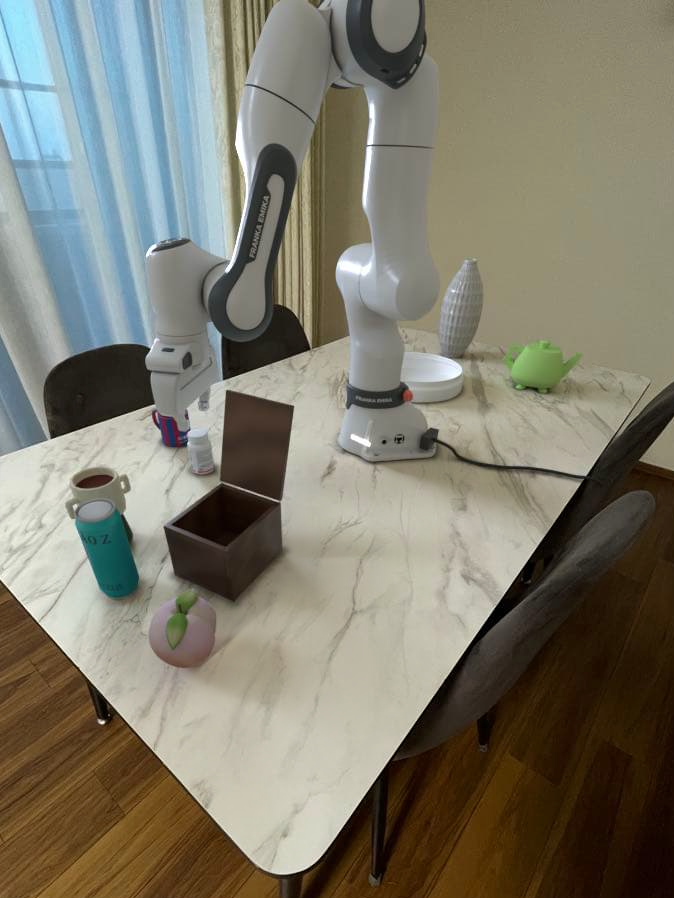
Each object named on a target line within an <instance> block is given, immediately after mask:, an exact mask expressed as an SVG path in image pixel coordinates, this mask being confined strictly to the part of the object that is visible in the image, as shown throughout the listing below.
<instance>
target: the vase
mask: <svg viewBox="0 0 674 898" xmlns="http://www.w3.org/2000/svg"><path fill="white" fill-rule="evenodd" d="M483 305H484V285H483V280H482V277H481V274H480V270H479V267H478V260H477V259H476V258H465V259H464V260H463V263H462V266H461V267H460V268H459V270H458V271H456V273H455V275H454V276H453V278H452V279H451V281H450V283H449V284H448V287H447V289H446V290H445V293H444V296H443V299H442V303H441V308H440V313H439V320H438V341H439V346H440V350H441V352H442V355H443V357H446V358H449V359H450V358H452V359H458V358H462V355H464V354H465V352H466V351H467V350H468V348H469V347H470V345H471V344H472V342H473V339H474V337H475V336H476V334H477V330H478V328H479V324H480V321H481V317H482V312H483Z"/></svg>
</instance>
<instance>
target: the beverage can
mask: <svg viewBox="0 0 674 898" xmlns="http://www.w3.org/2000/svg"><path fill="white" fill-rule="evenodd" d="M74 516H75V518H76V519H74V525H75V528H76V530H77V533H78V535H79V538H80V540H81V543H82V546H83V549H84V552H85V554H86V557H87V559H88V562H89V564H90V567H91V570H92V572H93V575H94V577H95V580H96V582H97V585H98V587H99V590H100V591H101V592H102V593H103V594H104V595H105V596H107V598H109V599H112V600H117V601H119V600H125V599H128V598H129V597H131V596H133V595H134V594H135V593H136V592H137V590H138V587H139V583H140V575H139V570H138V568H137V564H136V561H135V557H134V554H133V551H132V548H131V543H130V544H129V541H128V538H127V534H126V531H125V528H124V524H123V521H122V518H121V514H120V512H119V510H118V509H117V508H116V506H115V504H114V502H113V501H111V500H109V499H102V498H100V499H93V500H89V501H86V502H84V503H82V504H81V505H79V506H78V507H77V506H76V508H75V509H74Z"/></svg>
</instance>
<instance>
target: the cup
mask: <svg viewBox="0 0 674 898" xmlns="http://www.w3.org/2000/svg"><path fill="white" fill-rule="evenodd" d="M185 412H186V414H185V418H186V420H189V423H190V417H189V416H190V415H189V411H188V408H187V409H186V410H185ZM156 414H157V415H156ZM151 419H152V421H153V424H154V425H155V427H156V428H157V429H158V430H159V431H160V435H161V439H162V443H163V444H164V445H165V446H168V447H182V446H187V443H188V441H189V440H188V435H187V434H188V432H189V431H190V430H192V428H191V427H190V428H189V429H188V430H187V431H186V432H184V431H180V430H179V429H178V425H177V422H176V421H175V419H174V418H173V417H169V416H163V415H161V414H160V413H159V412H158V411H157V408H155V409H153V410H152V411H151ZM189 425H190V426H191V423H190V424H189Z"/></svg>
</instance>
